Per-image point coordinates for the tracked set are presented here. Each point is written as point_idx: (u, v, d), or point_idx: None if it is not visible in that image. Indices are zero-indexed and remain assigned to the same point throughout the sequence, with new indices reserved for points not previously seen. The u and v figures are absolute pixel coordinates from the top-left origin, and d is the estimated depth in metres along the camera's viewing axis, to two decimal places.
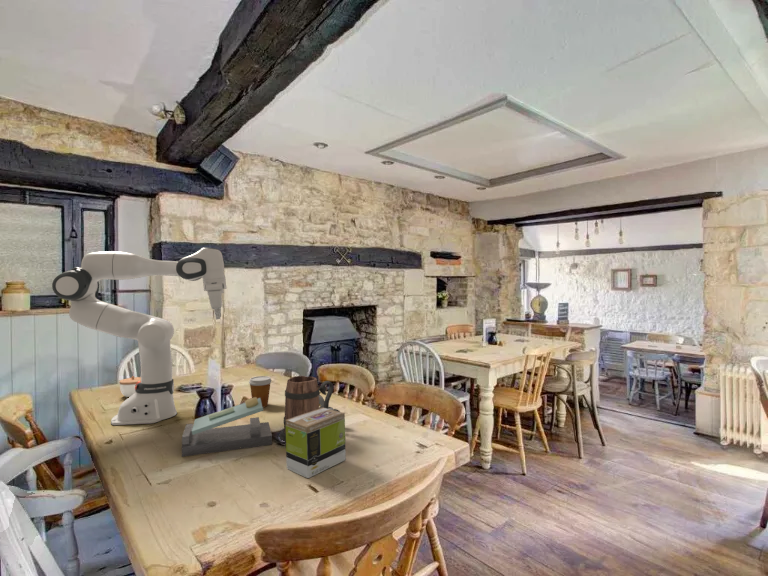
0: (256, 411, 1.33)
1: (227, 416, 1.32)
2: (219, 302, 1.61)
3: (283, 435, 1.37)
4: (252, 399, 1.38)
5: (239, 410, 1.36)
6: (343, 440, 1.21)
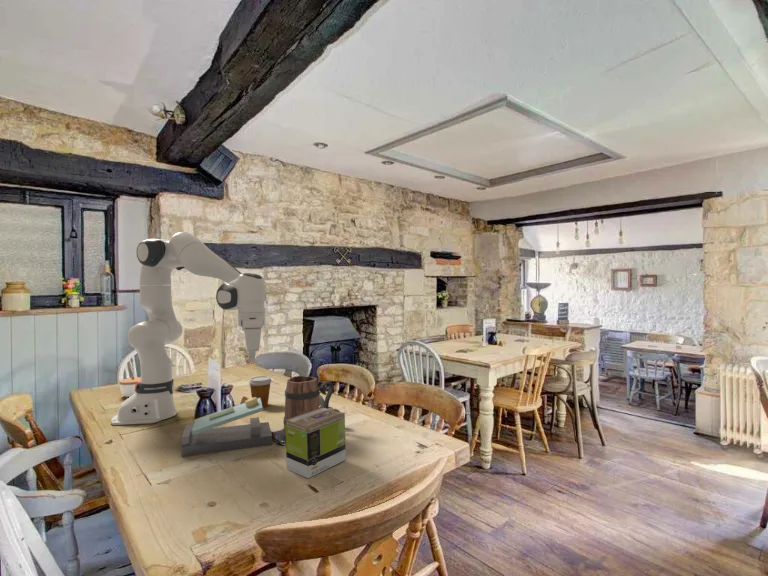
0: (256, 411, 1.33)
1: (227, 416, 1.32)
2: (257, 344, 1.29)
3: (283, 435, 1.37)
4: (252, 399, 1.38)
5: (239, 410, 1.36)
6: (343, 440, 1.21)
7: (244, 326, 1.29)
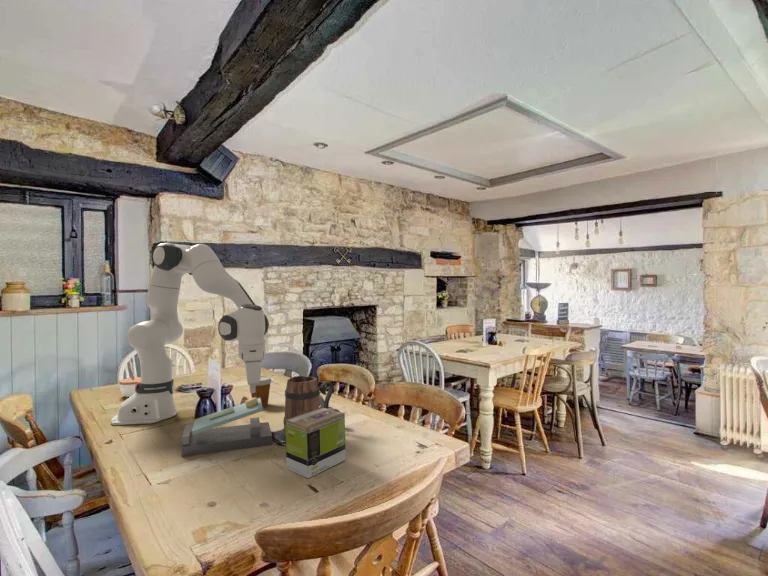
0: (256, 411, 1.33)
1: (227, 416, 1.32)
2: (258, 377, 1.29)
3: (283, 435, 1.37)
4: (252, 399, 1.38)
5: (239, 410, 1.36)
6: (343, 440, 1.21)
7: (244, 359, 1.29)
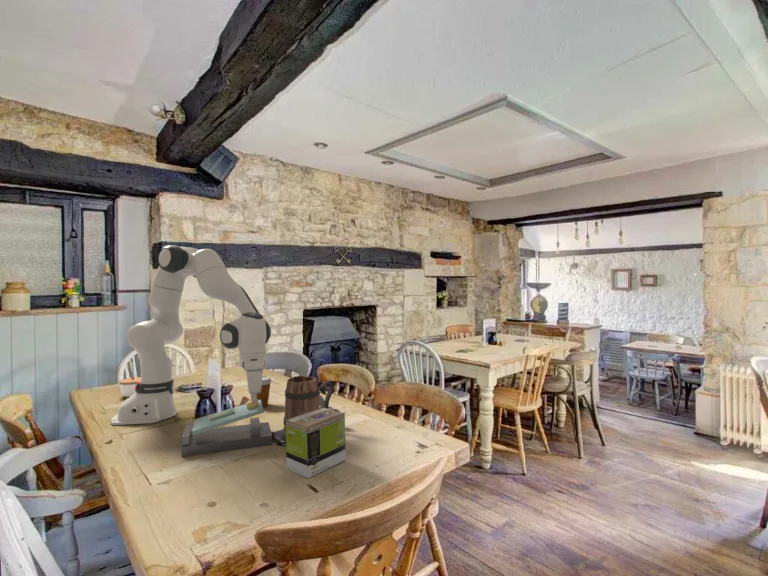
0: (257, 413, 1.33)
1: (227, 417, 1.32)
2: (259, 386, 1.29)
3: (283, 435, 1.37)
4: (253, 401, 1.38)
5: (239, 411, 1.36)
6: (343, 440, 1.21)
7: (246, 368, 1.29)
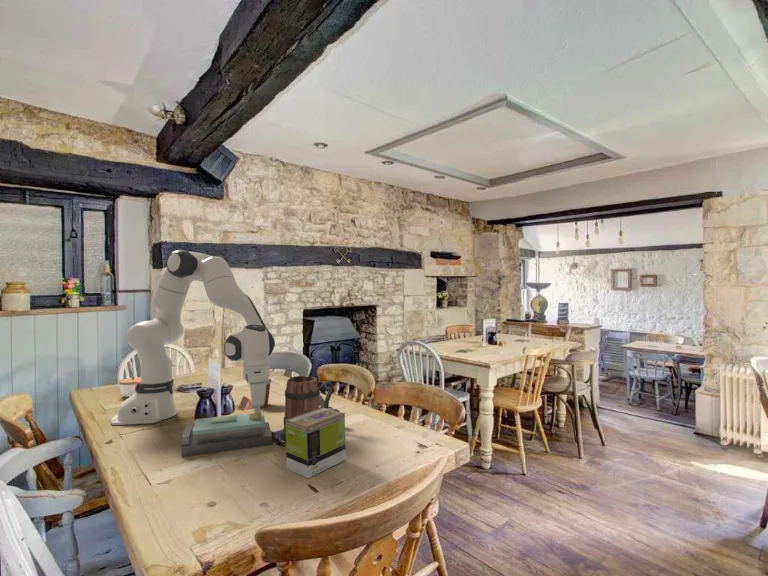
0: (258, 425, 1.33)
1: (229, 424, 1.33)
2: (263, 398, 1.30)
3: (283, 435, 1.37)
4: None
5: (241, 420, 1.36)
6: (343, 440, 1.21)
7: (249, 381, 1.29)
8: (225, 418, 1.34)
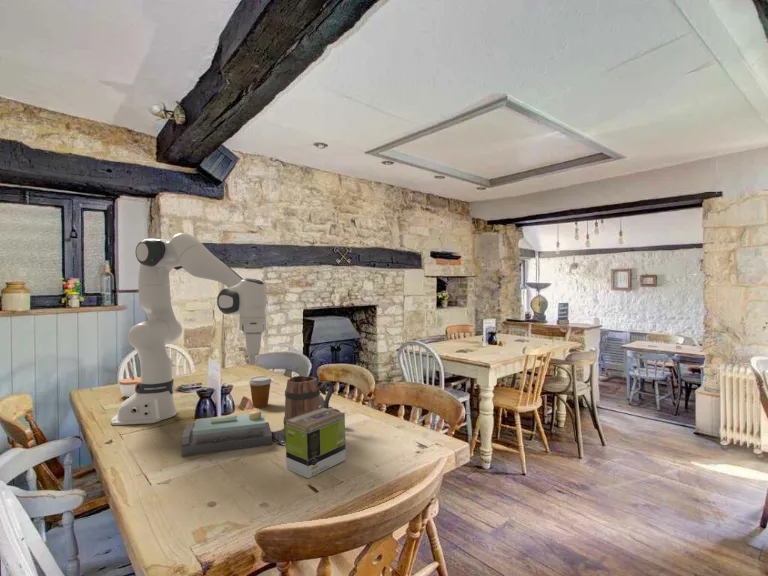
0: (258, 425, 1.33)
1: (229, 424, 1.33)
2: (257, 348, 1.32)
3: (283, 435, 1.37)
4: (256, 412, 1.38)
5: (241, 420, 1.36)
6: (343, 440, 1.21)
7: (245, 331, 1.32)
8: (225, 418, 1.34)
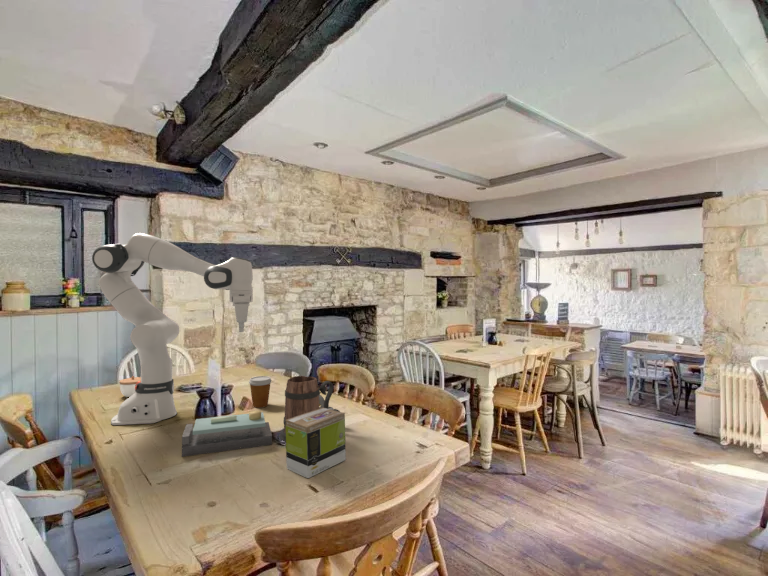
0: (258, 425, 1.33)
1: (229, 424, 1.33)
2: (245, 316, 1.53)
3: (283, 435, 1.37)
4: (256, 412, 1.38)
5: (241, 420, 1.36)
6: (343, 440, 1.21)
7: (234, 301, 1.53)
8: (225, 418, 1.34)
